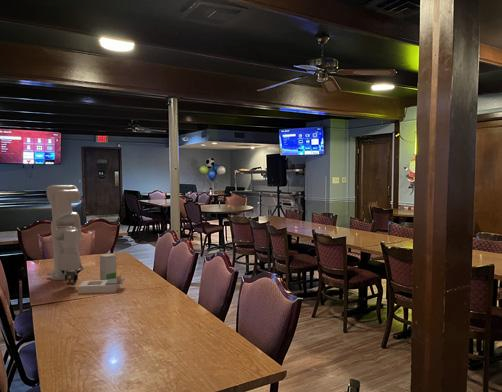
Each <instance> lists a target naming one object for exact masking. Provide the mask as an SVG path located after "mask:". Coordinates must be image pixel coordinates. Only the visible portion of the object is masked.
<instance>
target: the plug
mask: <svg viewBox="0 0 502 392" xmlns="http://www.w3.org/2000/svg"><path fill="white" fill-rule="evenodd" d="M74 275H75V272H74V270H70V271H69V272H67V273H66V280H65V283H66V286H74V285H76V283H77V281H76V282H74Z"/></svg>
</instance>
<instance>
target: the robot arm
mask: <svg viewBox="0 0 502 392" xmlns="http://www.w3.org/2000/svg"><path fill="white" fill-rule="evenodd" d="M46 197H47V201H48V202H49V204H50V207H51V216H52V219H51V223H50V230H51V241H52V250H53V271H47V272H46V274H47V276H51V280H53V281H61V280H62V281H63V280H64V281H66V273H67V272H69V271H74V272H75V275H74V282H76V283H77V281H78V279H79V275H78V274H79V273H81V272H82V271H84V269H85V268H84V266H83V265H82V259H81V254H80V252H79V242H81V241H82V238H83V235H82V226H81V225H82V224H81V218H80V214H79V213H78V212H76V211H73V205H72V203H73V204H75V203H76V204H77V203H79V202H80V201H81V198H82V197H81V193H80V190H79V188H77V186H76V185H74V184H51V185H49V186H48V187H46Z"/></svg>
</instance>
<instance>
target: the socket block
mask: <svg viewBox="0 0 502 392" xmlns="http://www.w3.org/2000/svg"><path fill="white" fill-rule="evenodd" d="M107 281H108V280H100V279H96V280H95V279H93V280H92V279H91V280H84V281H82V282H81V283H80V284H79V285H78V287H77V289H78V293H77V294H81V295H82V294H100V293H117V291H118V290H119V289H120V286H121V284H106V285H105V283H106V282H107Z"/></svg>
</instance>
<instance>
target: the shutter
mask: <svg viewBox="0 0 502 392" xmlns="http://www.w3.org/2000/svg"><path fill="white" fill-rule="evenodd" d="M116 275H117V279H109V280H108V281H107V282H106V283H105V285H106V284H120V285H123V283H124V281H125V280H126V278H122V273H121V272H119V273H118V274H116Z"/></svg>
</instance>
